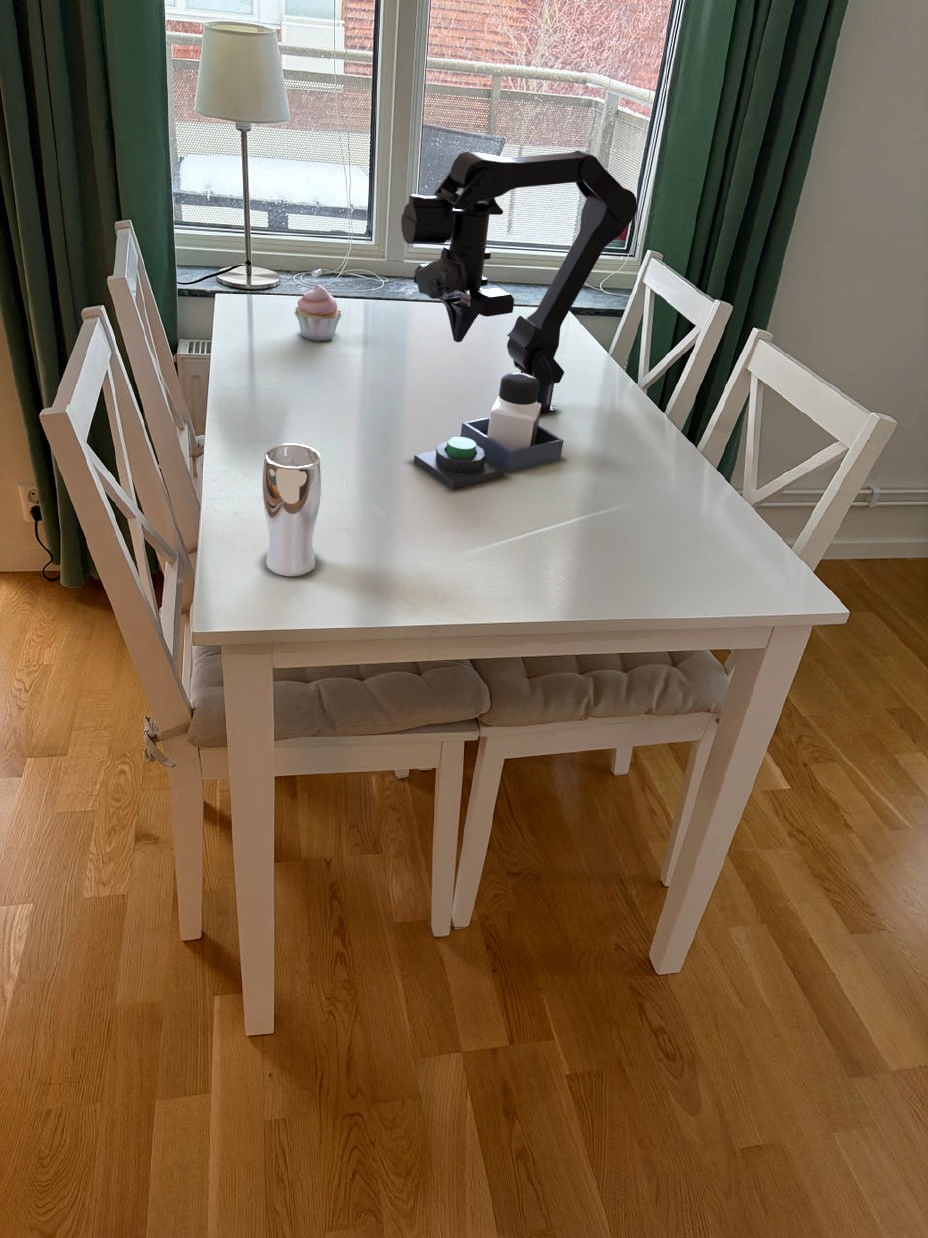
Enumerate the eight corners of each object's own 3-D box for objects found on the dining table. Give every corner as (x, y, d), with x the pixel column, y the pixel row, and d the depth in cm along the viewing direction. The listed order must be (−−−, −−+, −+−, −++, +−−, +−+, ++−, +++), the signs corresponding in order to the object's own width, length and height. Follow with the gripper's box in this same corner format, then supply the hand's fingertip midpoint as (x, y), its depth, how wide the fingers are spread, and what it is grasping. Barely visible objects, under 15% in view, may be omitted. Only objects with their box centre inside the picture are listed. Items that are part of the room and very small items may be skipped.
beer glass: (265, 548, 128) (264, 440, 119) (319, 551, 129) (323, 444, 120) (260, 577, 122) (259, 466, 114) (317, 580, 123) (321, 470, 115)
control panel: (464, 451, 159) (466, 432, 157) (504, 477, 152) (506, 458, 151) (413, 462, 153) (415, 443, 151) (452, 490, 147) (454, 470, 145)
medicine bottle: (528, 461, 157) (540, 389, 150) (484, 452, 158) (494, 380, 151) (535, 443, 163) (546, 373, 156) (492, 435, 164) (502, 365, 157)
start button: (463, 444, 154) (464, 434, 153) (480, 456, 151) (482, 445, 150) (440, 450, 151) (441, 439, 150) (457, 461, 149) (459, 451, 148)
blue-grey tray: (512, 430, 167) (515, 411, 166) (560, 459, 160) (563, 440, 158) (459, 441, 161) (462, 422, 159) (507, 473, 154) (510, 452, 152)
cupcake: (300, 324, 199) (301, 274, 193) (346, 332, 198) (348, 281, 193) (287, 339, 191) (287, 287, 185) (334, 347, 190) (336, 294, 185)
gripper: (390, 231, 155) (384, 329, 164) (465, 264, 144) (455, 368, 153) (446, 225, 161) (437, 321, 170) (522, 257, 150) (509, 357, 159)
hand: (457, 341), depth 163 cm, fingers closed
